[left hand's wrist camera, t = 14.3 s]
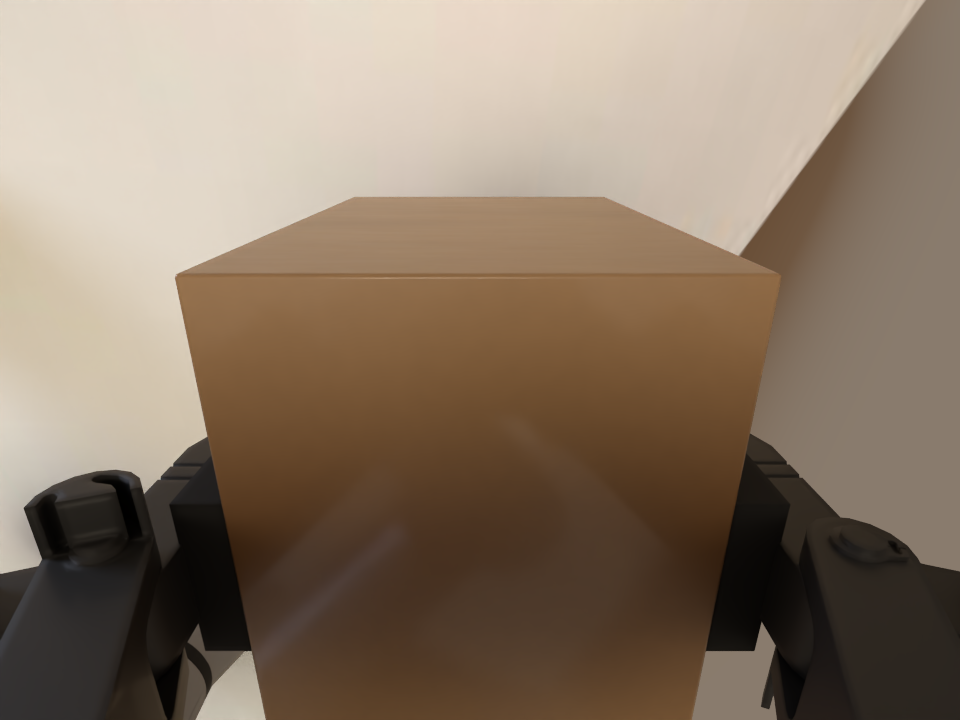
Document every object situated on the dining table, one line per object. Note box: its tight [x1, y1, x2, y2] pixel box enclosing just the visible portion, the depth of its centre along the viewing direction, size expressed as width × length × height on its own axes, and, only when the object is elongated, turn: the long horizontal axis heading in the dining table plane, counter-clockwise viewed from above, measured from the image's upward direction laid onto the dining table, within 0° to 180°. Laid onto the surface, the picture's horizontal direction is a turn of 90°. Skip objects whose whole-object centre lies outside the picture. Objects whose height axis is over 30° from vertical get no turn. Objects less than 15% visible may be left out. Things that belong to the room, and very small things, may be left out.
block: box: [175, 197, 781, 720], centre depth 12 cm, size 9×7×10 cm
